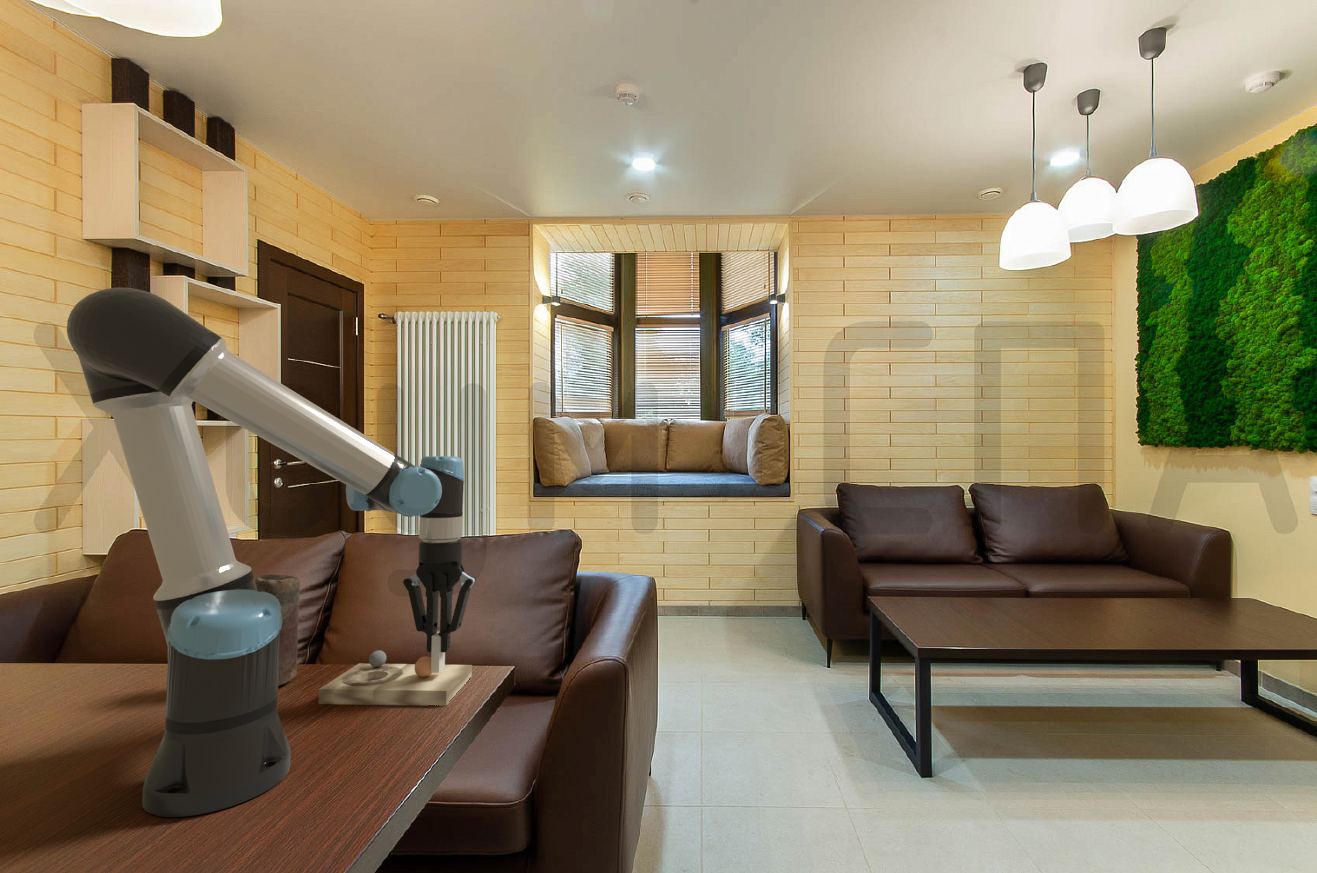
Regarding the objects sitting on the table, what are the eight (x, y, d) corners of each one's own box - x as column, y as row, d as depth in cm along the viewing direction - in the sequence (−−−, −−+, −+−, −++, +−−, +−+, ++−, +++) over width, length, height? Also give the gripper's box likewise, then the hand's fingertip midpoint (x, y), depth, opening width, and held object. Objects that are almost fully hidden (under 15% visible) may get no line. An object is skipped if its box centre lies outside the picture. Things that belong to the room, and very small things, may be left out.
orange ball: (440, 668, 106) (431, 651, 106) (423, 680, 104) (413, 663, 104) (435, 670, 109) (426, 653, 109) (418, 682, 106) (408, 665, 106)
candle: (264, 677, 112) (268, 572, 113) (304, 675, 113) (308, 571, 114) (240, 692, 104) (245, 579, 105) (283, 691, 105) (288, 579, 106)
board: (471, 678, 112) (471, 665, 112) (446, 705, 99) (446, 690, 100) (358, 676, 113) (359, 663, 113) (318, 704, 100) (319, 689, 100)
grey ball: (388, 667, 111) (388, 651, 111) (371, 670, 109) (371, 654, 109) (383, 663, 113) (384, 647, 113) (366, 666, 111) (367, 650, 111)
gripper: (482, 537, 111) (479, 663, 110) (415, 537, 111) (411, 662, 110) (468, 542, 103) (465, 678, 102) (396, 542, 104) (392, 677, 102)
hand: (437, 669), depth 106 cm, fingers closed
